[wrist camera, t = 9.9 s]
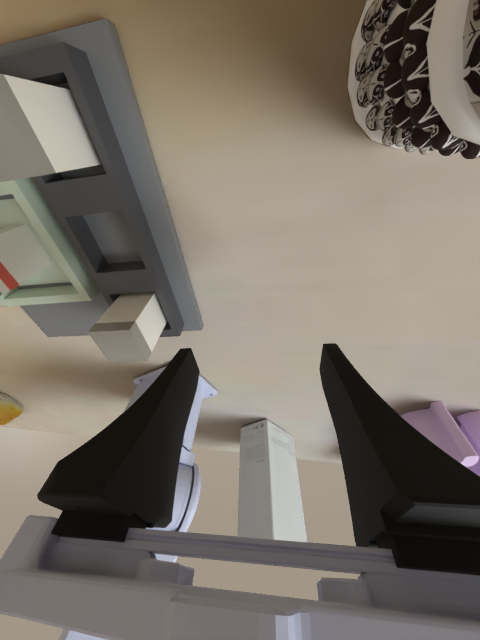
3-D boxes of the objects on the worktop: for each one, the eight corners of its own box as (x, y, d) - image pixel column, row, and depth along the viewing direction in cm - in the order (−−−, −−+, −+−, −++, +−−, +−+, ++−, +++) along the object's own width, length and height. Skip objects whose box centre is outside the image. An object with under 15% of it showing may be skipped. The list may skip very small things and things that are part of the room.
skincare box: (240, 426, 39) (231, 546, 28) (268, 416, 37) (271, 546, 25) (269, 444, 43) (271, 557, 32) (296, 437, 40) (310, 557, 29)
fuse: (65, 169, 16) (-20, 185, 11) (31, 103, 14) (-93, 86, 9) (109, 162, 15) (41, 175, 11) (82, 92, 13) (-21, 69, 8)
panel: (52, 332, 28) (36, 347, 26) (-155, 91, 15) (-222, 84, 13) (203, 325, 25) (198, 341, 23) (114, 24, 12) (84, 2, 10)
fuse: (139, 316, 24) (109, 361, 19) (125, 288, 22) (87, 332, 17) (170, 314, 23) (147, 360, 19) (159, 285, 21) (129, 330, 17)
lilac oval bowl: (405, 462, 44) (424, 508, 39) (344, 452, 43) (356, 497, 38) (501, 412, 31) (551, 469, 26) (419, 395, 30) (453, 451, 25)
